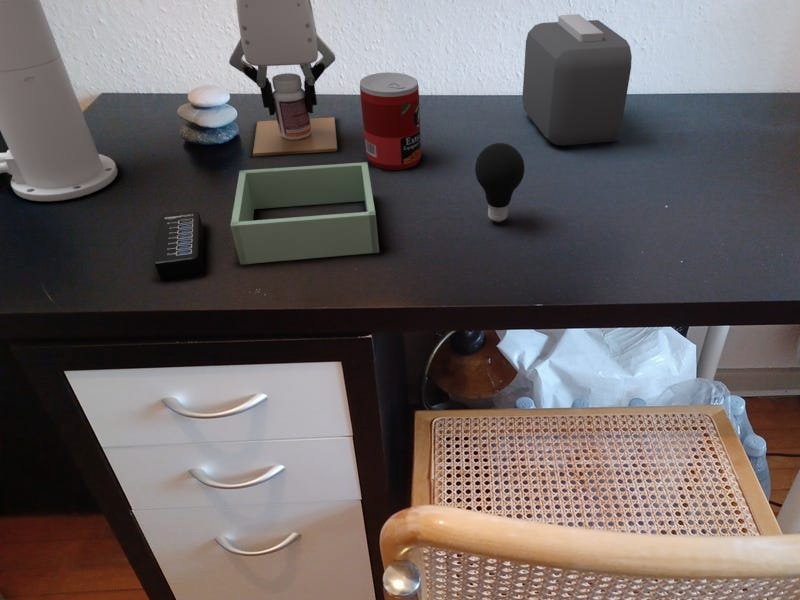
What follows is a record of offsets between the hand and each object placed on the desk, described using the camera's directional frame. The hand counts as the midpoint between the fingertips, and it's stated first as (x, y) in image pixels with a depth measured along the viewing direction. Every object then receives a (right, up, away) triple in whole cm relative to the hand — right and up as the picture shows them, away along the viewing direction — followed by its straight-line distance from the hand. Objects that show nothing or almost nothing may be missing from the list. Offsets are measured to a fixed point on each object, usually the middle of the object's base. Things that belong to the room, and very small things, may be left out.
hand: (291, 109), depth 98 cm
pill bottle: (0, -3, +3) cm, 4 cm away
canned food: (+16, -8, -2) cm, 18 cm away
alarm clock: (+42, -1, +7) cm, 42 cm away
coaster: (0, -3, +3) cm, 4 cm away
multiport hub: (-6, -25, -22) cm, 34 cm away
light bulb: (+30, -20, -15) cm, 39 cm away
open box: (+7, -21, -17) cm, 28 cm away
